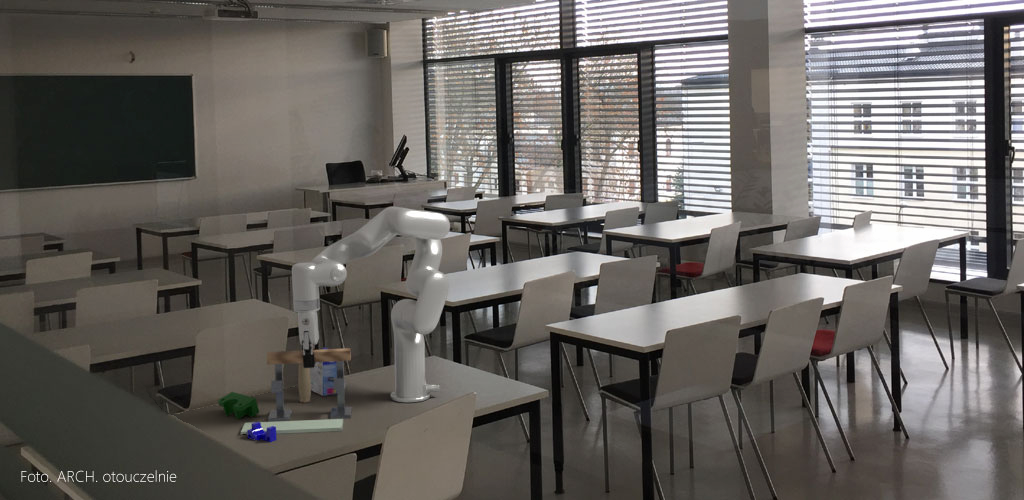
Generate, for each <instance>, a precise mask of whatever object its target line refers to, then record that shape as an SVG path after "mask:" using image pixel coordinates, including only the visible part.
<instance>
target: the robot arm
mask: <svg viewBox="0 0 1024 500" xmlns="http://www.w3.org/2000/svg"><path fill="white" fill-rule="evenodd" d="M450 224H451V223H450V220H449V218H448V217H447V216H446V215H445V214H443V213H442V212H437V211H429V210H418V209H414V208H413V209H412V208H407V207H401V206H388V207H385V208H384V209H383V210H381V211H380V212H378V214H376V215H375V216H374V217H373V218H371V219H370V220H369V221H367V222H366V223H365V224H364V225H363V226H362V227H360V228H359V229H358V230H357V231H355V232H354V233H352V234H349V235H347V236H345V237H343V238H341V239H340V240H338V241H335V242H334V243H332V244H330V245H329V246H327V247H326V248H325V249H323V250H322V251H321V252H320V253H319V254H318V255H316V256H315V257H314V258H313V259H312V260H311V261H310V262H298V263H295V264H293V265H292V267H291V281H292V282H291V283H292V284H291V285H292V302H293V303H292V304H293V312H295V313H297V318H298V319H297V322H298V323H297V324H298V336H299V337H298V338H299V344H300V345H301V346H302V350H303V367H304V368H314V367H315V363H316V362H314V354H313V350H316V349H315V345H317V344H318V342H319V340H320V333H319V320H318V311H319V310H320V309H321V307H320V306H321V303H320V287H336V286H340V285H341V284H343V283H344V282H345V280H346V279H347V276H348V272H347V269H346V266H345V264H347V263H349V262H351V261H354V260H358V259H361V258H366V257H369V256H372V255H375V254H376V252H378V251H380V249H381V248H382V247H384V246H385V245H386V244H388V242H390V241H391V240H392V239H394V238H395V237H396V236H397V235H398V236H402V237H409V238H413V239H414V241H415V250H414V251H415V252H414V256H413V259H412V262H411V265H410V268H409V270H408V271H409V272H408V274H407V277H406V280H405V289H406V291H407V292H408V293H409V294H410V295H412V296H414V297H417V300H414V299H410V298H403V299H401V300H399V301H397V302H396V303H395V304H394V305H393V306H392V309H391V312H390V319H391V326H392V331H393V339H394V340H393V343H394V378H395V379H394V384H395V385H394V387H395V388H394V389H395V390H394V391H392V392H391V393H390V399H391V400H392V401H395V402H398V403H420V402H423V401H427V400H428V399H429V398H431V392H433V393H436V392H440V391H441V388H440V385H436V383H434V384H428V383H427V381H426V356H425V355H426V353H425V352H426V351H425V349H426V347H425V345H426V344H425V337H424V335H428V334H431V333H432V332H433V331H434V330H435V329H436V327H437V325H438V323H439V321H440V318H441V315H442V313H443V309H444V306H445V305H446V304H445V303H446V300H447V297H448V294H449V279H448V278H447V276H446V274H444V273H443V272H441V271H439V270H440V269H439V268H440V266H441V265H440V264H441V261H442V256H443V244H442V239H444V238H445V237H447V235H448V234H449V232H450V229H451V225H450Z"/></svg>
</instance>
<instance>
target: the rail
mask: <svg viewBox="0 0 1024 500" xmlns="http://www.w3.org/2000/svg"><path fill="white" fill-rule="evenodd" d="M313 354H314V362H330V361H344V362H345V361H346V362H350V361H351V359H352V356H351V354H352V353H351V347H349V348H348V347H345V348H328V349H323V348H322V349H315V350H313ZM299 363H303V349H302V350H300V349H299V350H286V351H285V350H283V351H282V350H281V351H280V350H279V351H268V352H267V353H266V365H268V366H269V365H275V364H285V365H286V364H299Z"/></svg>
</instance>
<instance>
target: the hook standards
mask: <svg viewBox="0 0 1024 500" xmlns="http://www.w3.org/2000/svg"><path fill="white" fill-rule="evenodd" d="M344 362H345V361H336V366H337V378H334V390H337V394H336V395H337V396H336V397H337V407H331V410H330V415H329V419H352V412H353V407H352V406H346V405H345V404H346V403H345V401H346V400H345V396H346V395H345V391H346V384H347V383H346V380H345V370H344V368H345V367H344V366H345V364H344ZM274 372H275V373H274V374H275V376H274V378H275V379H271V381H270V383H271V385H270V386H271V394H274V393H275V401H276V402H275V403H276V404H275V405H276V409H271V410H270V412H269V414H268V416H267V417H268V418H267V422H279V421H290V419H291V416H292V412H293V410H292V409H291V408H290V409H285V394H284V393H285V391H284V388H285V384H286V383H285V382H284V365H283V364H274Z"/></svg>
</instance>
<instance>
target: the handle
mask: <svg viewBox="0 0 1024 500" xmlns="http://www.w3.org/2000/svg"><path fill="white" fill-rule="evenodd" d="M297 375H298V376H297V377H298V380H297V382H298V384H297V386H298V387H297V388H298V394H299V397H300V398H299V401H300V403H309V402H310V401H311V394H312V391H311V378H310V368H304V367H303V363H298V374H297Z"/></svg>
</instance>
